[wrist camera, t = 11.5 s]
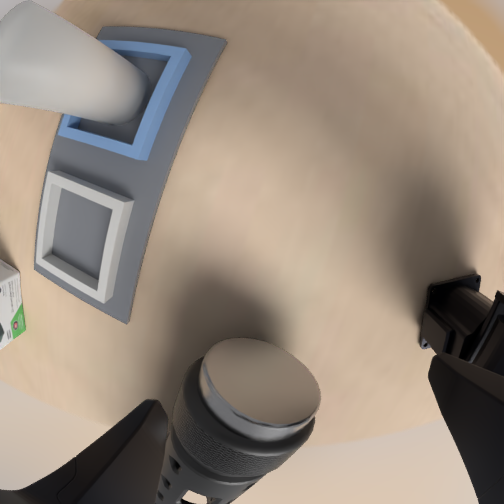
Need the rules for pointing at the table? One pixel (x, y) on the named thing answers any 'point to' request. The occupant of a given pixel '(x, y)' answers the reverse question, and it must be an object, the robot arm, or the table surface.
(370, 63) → the table surface
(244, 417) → the black silver cylinder
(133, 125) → the duct plate
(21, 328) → the ink box
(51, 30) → the white piece
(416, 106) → the table surface
